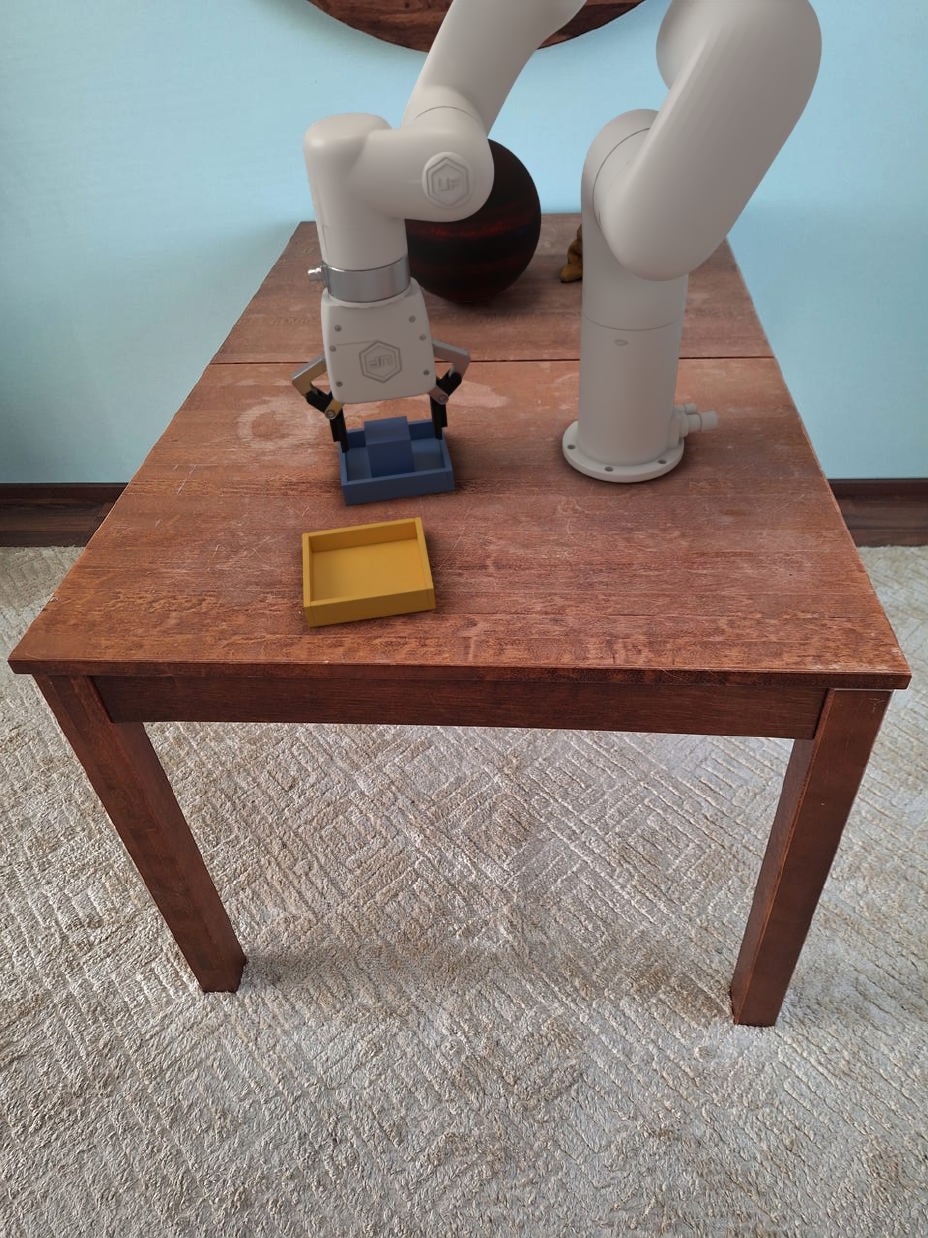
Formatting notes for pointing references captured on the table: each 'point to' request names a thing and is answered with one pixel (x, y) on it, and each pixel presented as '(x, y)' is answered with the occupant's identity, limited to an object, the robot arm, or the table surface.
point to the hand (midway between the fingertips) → (391, 439)
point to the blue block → (389, 446)
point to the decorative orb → (480, 238)
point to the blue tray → (426, 479)
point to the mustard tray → (366, 572)
